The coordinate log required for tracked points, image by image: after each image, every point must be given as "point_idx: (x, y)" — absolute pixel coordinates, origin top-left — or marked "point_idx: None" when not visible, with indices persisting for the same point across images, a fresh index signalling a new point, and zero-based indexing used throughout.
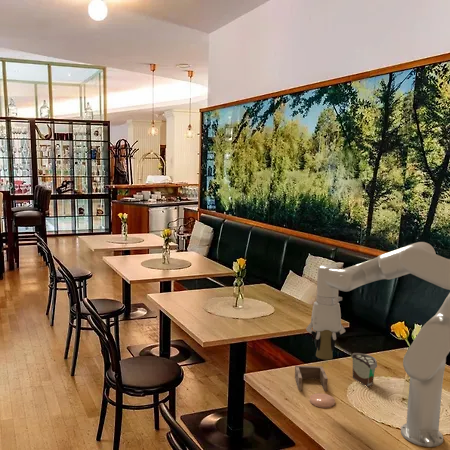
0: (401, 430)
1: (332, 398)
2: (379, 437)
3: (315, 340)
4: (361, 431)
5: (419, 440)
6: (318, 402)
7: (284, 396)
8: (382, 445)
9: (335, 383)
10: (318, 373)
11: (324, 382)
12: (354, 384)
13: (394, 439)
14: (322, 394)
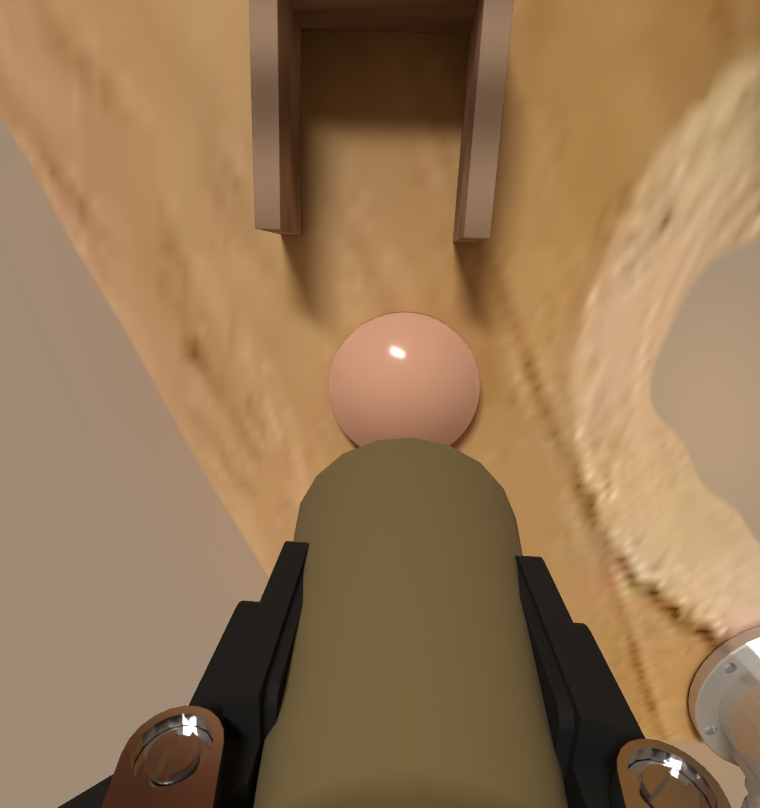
0: (703, 686)
1: (470, 382)
2: None
3: (204, 677)
4: None
5: (735, 760)
6: (371, 430)
7: (184, 322)
8: None
9: (575, 107)
10: (466, 9)
11: (459, 238)
12: (719, 121)
13: (637, 705)
14: (420, 330)
